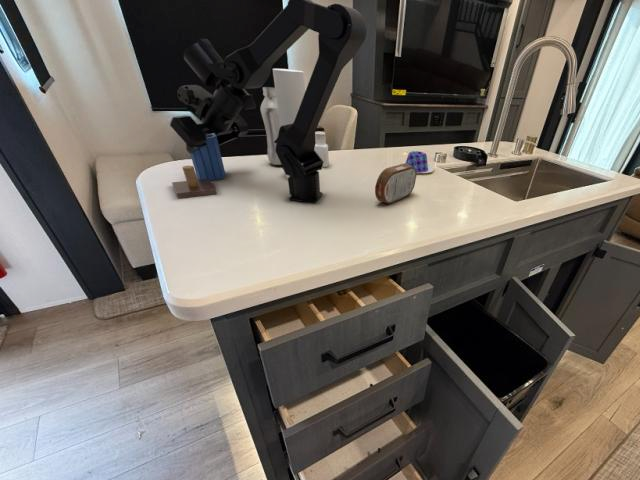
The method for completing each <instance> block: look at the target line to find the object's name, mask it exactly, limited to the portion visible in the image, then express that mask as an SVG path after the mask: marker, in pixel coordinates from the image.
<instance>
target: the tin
mask: <svg viewBox="0 0 640 480" xmlns="http://www.w3.org/2000/svg"><path fill="white" fill-rule="evenodd" d="M403 163H404V164H401V163H399V164H400V165H399V164H396V165H393V166H389V167H386V168H385V169H383V170H382V171H381V173H379V176H377V177H378V178H377V179H376V182H375V188H374V194H375V197H376V200H377V201H379V202H382V203H384V204H388V205H390V204H392V203H395V202H397V201H400V200H403V199H405V198H407V197H408V196H410V195H411V193H412V192H413V190H414V188H415V185H416V181H417V174H418V173H417V172H416V169H415V168H414V167H412V166H410V165H408V164H406V163H405V162H403Z"/></svg>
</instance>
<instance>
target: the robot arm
mask: <svg viewBox="0 0 640 480" xmlns="http://www.w3.org/2000/svg"><path fill="white" fill-rule="evenodd" d="M309 30H311V31H313V32H316V33H318V36H317V39H318V41H317V42H318V56H317V60H316V62H315V65H314V66H313V70H312V73H311V75H310V78H309V81H308V83H307V85H306V87H305V94H304V96H303V99H302V102H301V104H300V107H299V110H298V112H297V115H296V118H295V120H294V122H293V124H288V125H284V126H281V127H280V129H279V134H278V137H277V139H276V140H275V141H274V142H275V143H277V145H276V153H277V155H278V158H279V160H280V162H281V164H282V165H281V167H282V169H283V172H284V174H285V176H286V175H290V177H289V178H287V183H288V191H289V192H288V193H289V195H290V196H289V201H296V202H303V203H311V204H312V203H313V204H315V203H317V202H318V201H319V200H320V198H321V197H322V196H323V192H322V191H321V185H320V170H322V169H323V167H322V166H323V160H322V159H321V158H320V157H319V155H318V154H317V153H316V151H315V150H314V148H315V144H316V141H315V132H317V129H318V126H319V123H320V121H321V119H322V117H323V115H324V112H325V110H326V107H327V105H328V104H329V100H330V98H331V96H332V94H333V91H334V89H335V87H336V84H337V82H338V79H339V77H340V75H341V74H342V73H341V72H342V71H343V69H344V68H345V67H346V66H347V65H348V63H349V62H350V61H352V60H353V58H354V57H356V55H357V53H358V52H359V50H360V49H361V47H362V45H363V44H364V42H365V41H366V37H367V33H368V28H367V26H366V20H365V18H364V17H363V15H362V13H361V12H360V11H359V10H357V9H356V8H352V7H349V6H346V5H343V4H340V3H333V4H330V5H328V6H325V5H321V4H319V3H315V2H314V1H313V0H288V2H287V4H286V6H284V8H283V9H282V10H281V11H280V12H279V14H277V16H276V17H274V19H273V20H272V21H271V22H270V23H269V24H268V25H267V26H266V28H265V29H264V30H262V32H261V33H260V34H259V35H257V37H256V38H255V39H254V41H252V43H250V44H249V45H246V46H244V47H242V48H238V49H236V50H234V51H233V52H231V53H230V54H229V55H227V56H226V57H225V58H224V59H223V58H222V57H221V56H220V54H219V53H218V52H217V51H216V49H215V48H214V46H213V44H212V43H211V42H210V40H209V39H208V38H199V39H198V41H197V42H195V43H193V44H191V45H190V46H189V47H188V48H186V49H185V50H184V53H183V59H184V61H185V62H186V63H187V65H188V66H189V67H190V68H191V69H192V71H193V72H194V73H195V74H196V75H197V77H198V78H199V79H200V80H201V81H202V83H204V85H205V86H206V87H212V88H215V90H214V92H213V94H212V93H210V92H209V91H207V90H206V89H205V88H203V87H202V86H201V85H198V84H187V85H186V84H183V85H181V86H179V88H178V90H177V98H178V100H179V101H180V102H182V103H183V104H184V105H186V106H190V107H191V108H193V109H195V114H196V116H197V117H198V118H201V123H197V122H196V121H195V120H194V119H193V118H192V116H191V115H185V114H184V115H179V116H178V115H177V116H172V118H171V120H170V122H169V126H170V127H171V129H172V130H173V131H174V132H175V133H176V134H177V135H178V137H180V139H181V140H182V141H183V142H184V143H185V147H186V151H187V153H188V154H190V153H193V152H195V151H196V150H198V149H200V148H202V147H204V146H206V145H207V144H206V143H205V142H206V140H207V139H206V135H211V134H216V136H217V140H218V144H219V146H221V145H224V144H226V143H228V142H230V141H233V140H236V139H238V138H240V137H243V136H246V135H247V134H248V133H249V132H250V128H249V125H248V123H247V122H246V121H245V119H244V118H243V117H242V116H241V114H240V112H241V111H242V109H243V110H252V109H256V108H257V105H256V102H255V100H254V96H253V94H250V93H248V92H247V89H248V90H249V89H250V90H251V89H260V88H263V87H264V84H265V83H266V81H267V80H268V78H269V77H270V75H271V70H272V67H273V66H274V64H275V63H276V62H277V61H278V60H279V59H280V58H281V57H282V56H283V55H285V53H286V52H287V51H288V50H289V49H290V48H291V47H292V46H293V45H294V44H295V43H296V42H297V41H299V40H300V39H301V38H302V37H303V35H305V33H306V32H308V31H309ZM301 163H303V165H302V164H301Z"/></svg>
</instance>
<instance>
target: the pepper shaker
mask: <svg viewBox="0 0 640 480" xmlns="http://www.w3.org/2000/svg"><path fill="white" fill-rule="evenodd" d="M326 138H327V137H326V132H324V131H315V141H316V144H315V148H314V150H315V151H316V153H317V154H318V155H319V157H320V158H321V159H322V160H323V166H322V168H327V167H328V166H329V164H330V158H329V144H327V143H326V140H327V139H326Z"/></svg>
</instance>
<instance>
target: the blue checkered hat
mask: <svg viewBox="0 0 640 480" xmlns="http://www.w3.org/2000/svg"><path fill="white" fill-rule="evenodd" d="M404 163H406V164H408V165H410V166H412V167H414V168H415V169H416V172H417V174H428V173H432V172H433V171H434V170H435V168H434V167H433V166H432V165H429V164H428V156H427V153H425V152H423V151H418V150H416V151H415V150H412V151H410V152H408V155H407V158H406V160H405V162H401V163H399V164H398V165H400V164H404Z"/></svg>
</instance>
